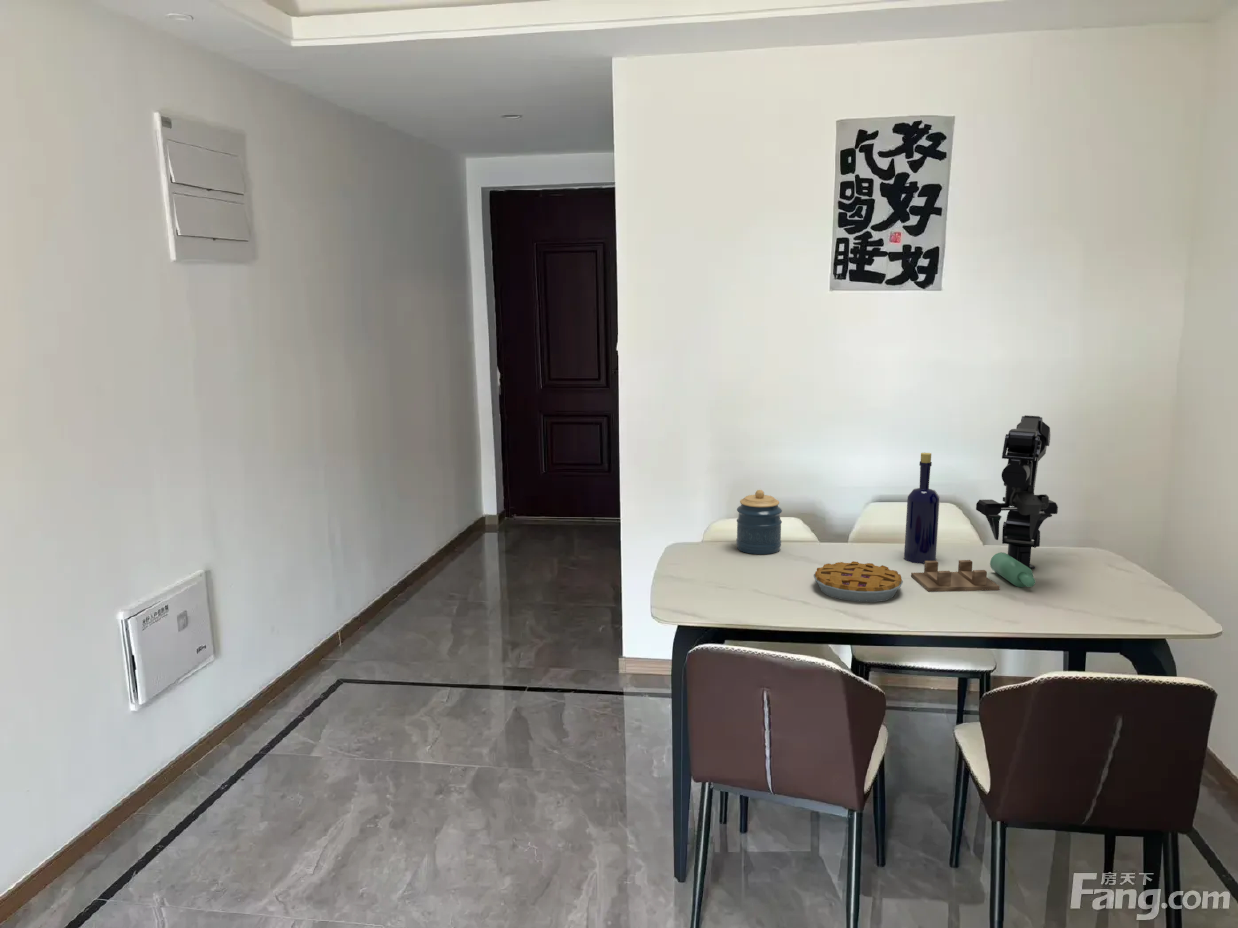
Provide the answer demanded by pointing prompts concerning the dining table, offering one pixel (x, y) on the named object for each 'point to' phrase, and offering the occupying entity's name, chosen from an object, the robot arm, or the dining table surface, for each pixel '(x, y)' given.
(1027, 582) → the small bottle
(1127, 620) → the dining table surface
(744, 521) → the canister
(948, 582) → the bottle rest
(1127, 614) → the dining table surface
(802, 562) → the dining table surface
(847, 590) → the pie
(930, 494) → the bottle
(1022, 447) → the robot arm
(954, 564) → the dining table surface
